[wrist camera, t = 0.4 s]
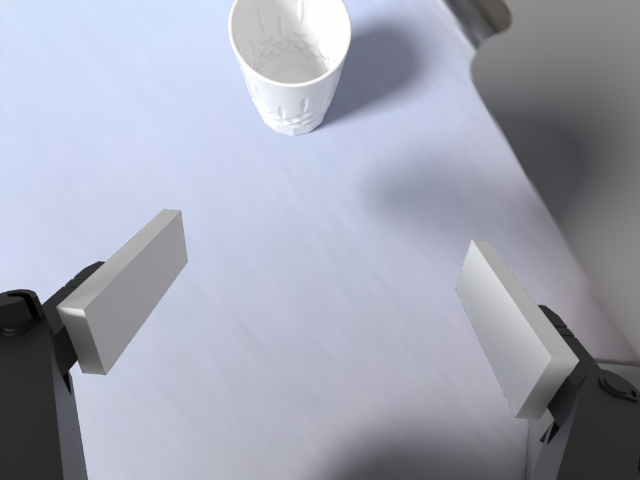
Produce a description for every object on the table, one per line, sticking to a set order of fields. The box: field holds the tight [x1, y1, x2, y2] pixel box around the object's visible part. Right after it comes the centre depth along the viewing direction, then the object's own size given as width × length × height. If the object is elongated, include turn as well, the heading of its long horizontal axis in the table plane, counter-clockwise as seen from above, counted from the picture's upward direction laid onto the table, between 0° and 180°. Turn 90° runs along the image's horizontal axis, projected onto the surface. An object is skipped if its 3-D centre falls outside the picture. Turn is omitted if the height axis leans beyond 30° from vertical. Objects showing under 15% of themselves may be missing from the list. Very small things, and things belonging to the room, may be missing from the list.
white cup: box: [229, 0, 351, 136], centre depth 27 cm, size 8×8×10 cm
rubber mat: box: [526, 362, 640, 480], centre depth 31 cm, size 14×14×1 cm
